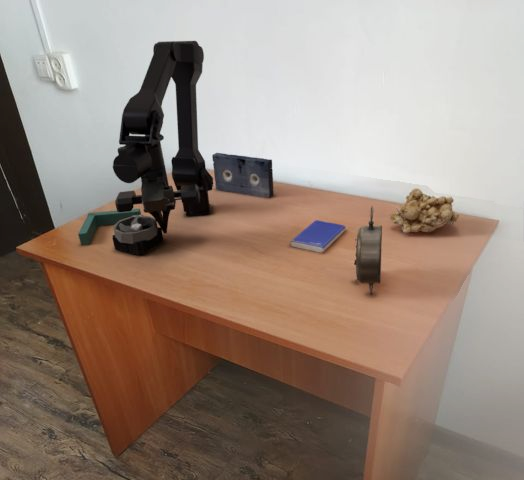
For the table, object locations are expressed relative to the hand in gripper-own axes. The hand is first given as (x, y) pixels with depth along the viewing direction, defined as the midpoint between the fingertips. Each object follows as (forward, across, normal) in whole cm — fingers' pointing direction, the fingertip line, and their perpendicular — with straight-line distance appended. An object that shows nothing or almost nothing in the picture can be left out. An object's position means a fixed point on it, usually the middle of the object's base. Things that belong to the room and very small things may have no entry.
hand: (165, 232), depth 119 cm
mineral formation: (+4, +62, -5) cm, 62 cm away
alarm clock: (+4, +42, -27) cm, 50 cm away
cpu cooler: (+3, -7, 0) cm, 7 cm away
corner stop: (+2, -15, +10) cm, 18 cm away
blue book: (+3, +36, -5) cm, 37 cm away
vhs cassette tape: (+3, +20, +29) cm, 35 cm away
